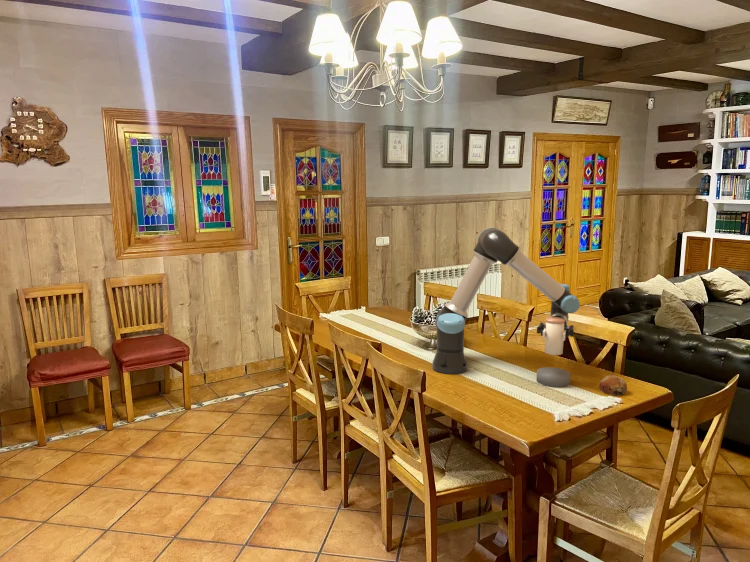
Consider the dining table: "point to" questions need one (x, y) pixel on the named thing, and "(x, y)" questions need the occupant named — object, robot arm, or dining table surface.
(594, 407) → the dining table surface
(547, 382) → the plinth
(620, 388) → the bread roll
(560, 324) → the canister
